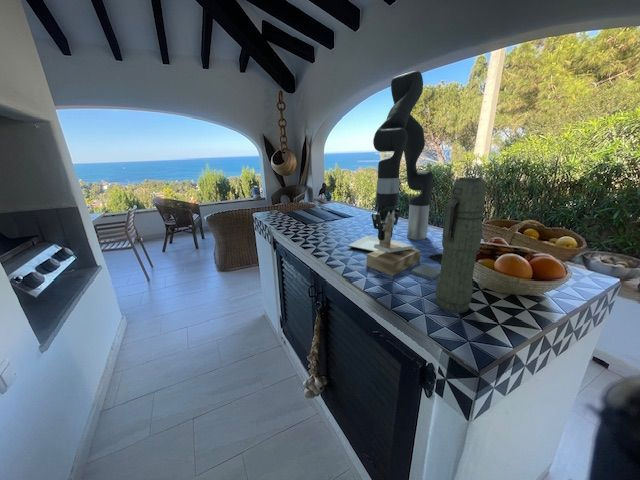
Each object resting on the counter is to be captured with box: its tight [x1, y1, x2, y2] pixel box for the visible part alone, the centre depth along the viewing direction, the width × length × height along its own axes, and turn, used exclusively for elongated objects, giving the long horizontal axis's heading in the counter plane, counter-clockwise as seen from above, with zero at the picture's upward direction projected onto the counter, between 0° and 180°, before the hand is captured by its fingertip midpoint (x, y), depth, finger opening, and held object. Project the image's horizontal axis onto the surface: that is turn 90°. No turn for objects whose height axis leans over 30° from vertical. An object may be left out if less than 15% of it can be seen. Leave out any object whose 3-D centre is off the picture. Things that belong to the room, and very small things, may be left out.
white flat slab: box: [374, 241, 415, 253], centre depth 98 cm, size 16×7×1 cm, turn 130°
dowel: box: [379, 214, 392, 247], centre depth 92 cm, size 4×4×12 cm
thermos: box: [434, 177, 487, 314], centre depth 67 cm, size 9×12×35 cm
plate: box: [347, 235, 402, 253], centre depth 120 cm, size 19×19×2 cm
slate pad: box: [410, 264, 441, 281], centre depth 92 cm, size 8×8×1 cm
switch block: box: [366, 248, 421, 277], centre depth 100 cm, size 18×12×6 cm, turn 130°
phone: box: [429, 252, 443, 265], centre depth 100 cm, size 8×1×15 cm
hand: (385, 238), depth 93 cm, fingers closed on dowel, 4 cm apart
